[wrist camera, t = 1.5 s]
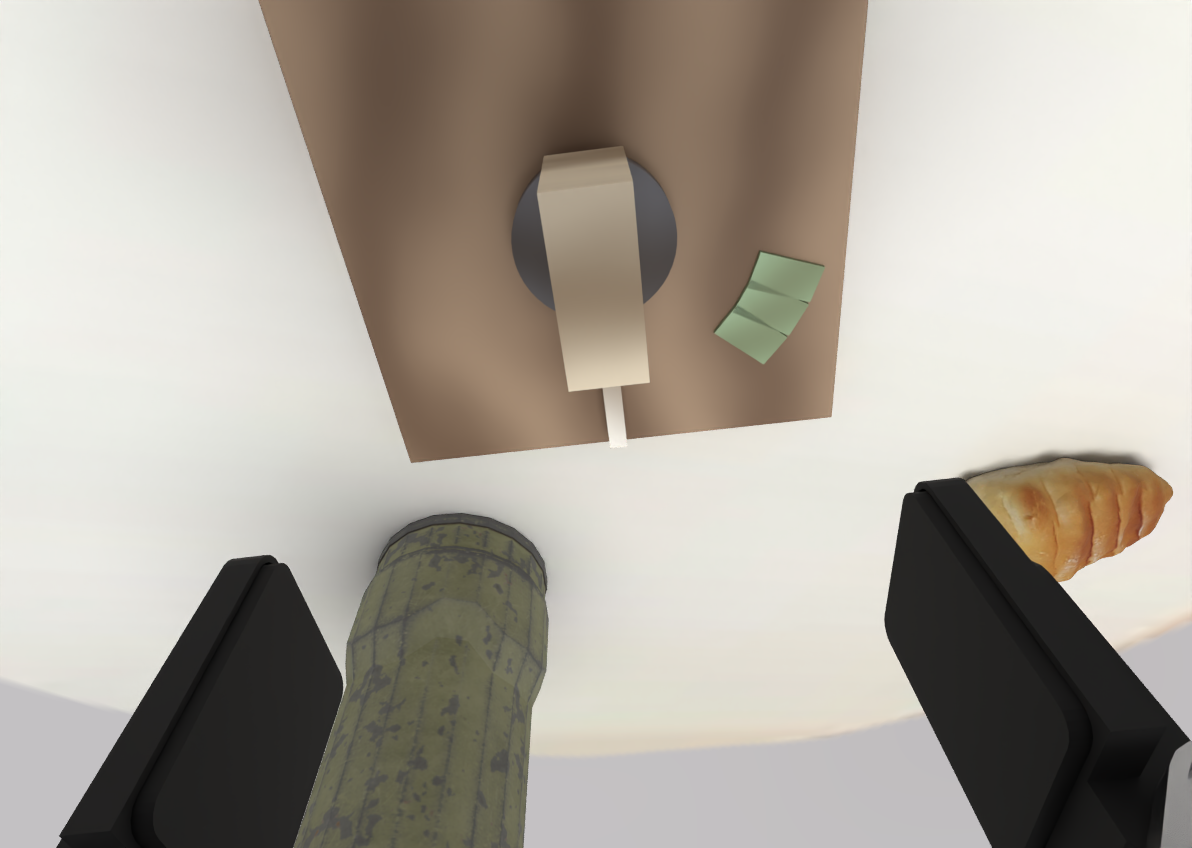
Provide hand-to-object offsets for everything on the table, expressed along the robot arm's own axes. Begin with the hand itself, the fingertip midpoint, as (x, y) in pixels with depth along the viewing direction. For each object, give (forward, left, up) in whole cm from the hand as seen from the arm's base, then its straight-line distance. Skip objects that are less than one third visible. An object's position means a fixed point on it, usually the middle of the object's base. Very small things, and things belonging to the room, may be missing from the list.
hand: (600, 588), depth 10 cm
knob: (0, +2, -16) cm, 16 cm away
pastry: (-20, +16, -18) cm, 32 cm away
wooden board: (0, 0, -18) cm, 18 cm away
